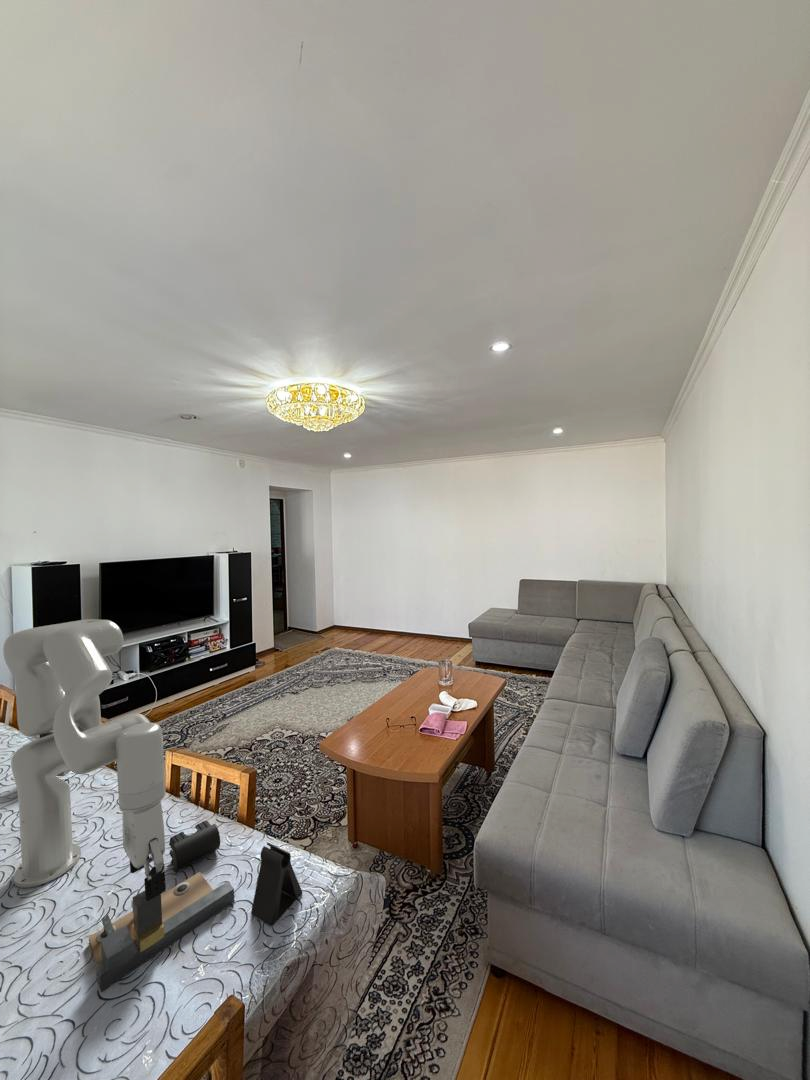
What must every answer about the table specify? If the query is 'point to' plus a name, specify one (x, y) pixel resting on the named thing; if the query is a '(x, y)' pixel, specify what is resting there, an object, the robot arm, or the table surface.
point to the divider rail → (127, 957)
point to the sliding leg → (147, 920)
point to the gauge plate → (170, 904)
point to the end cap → (194, 845)
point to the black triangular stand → (275, 885)
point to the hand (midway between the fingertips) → (147, 881)
